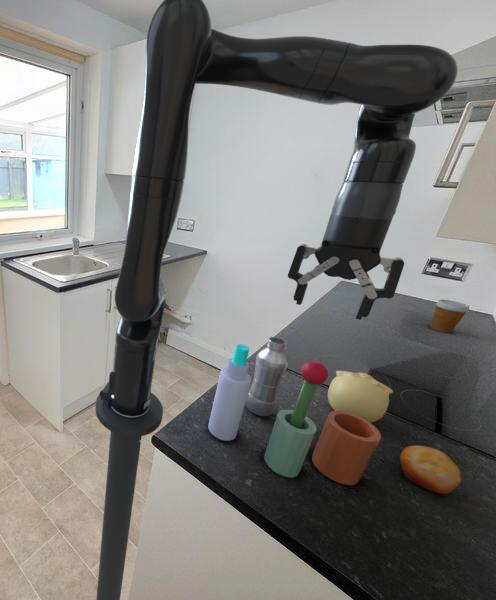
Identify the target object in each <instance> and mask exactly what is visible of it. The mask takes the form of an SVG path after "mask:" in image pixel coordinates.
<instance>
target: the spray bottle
mask: <svg viewBox="0 0 496 600" xmlns="http://www.w3.org/2000/svg"><path fill="white" fill-rule="evenodd" d="M249 353H250V347H249V346H247V345H246V344H236V346H235V349H234V353H233V357H231V358H229V360H228V363H227V366H226V367H223V368H221V369H220V372H219V377H218V382H217V386H216V390H215V394H214V399H213V403H212V407H211V412H210V415H209V420H208V426H207V427H208V431H209V433H210V434H211V435H212V436H213V437H215V438H216V439H217V440H220V441H224V442H229V441H233V440H235V439H236V437H237V434H238V430H239V427H240V425H241V420H242V417H243V413H244V410H245V407H246V404H245V402H246V398H247V395H248V391H249V390H250V387H251V384H252V377H251V375H250V374H249V369H250V364H249V362H248V357H249Z"/></svg>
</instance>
